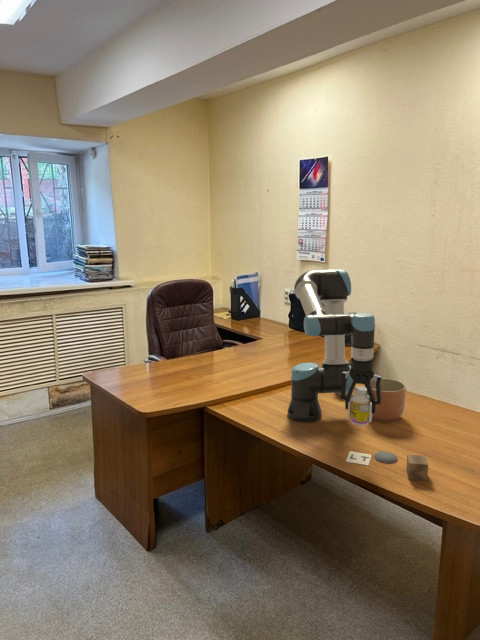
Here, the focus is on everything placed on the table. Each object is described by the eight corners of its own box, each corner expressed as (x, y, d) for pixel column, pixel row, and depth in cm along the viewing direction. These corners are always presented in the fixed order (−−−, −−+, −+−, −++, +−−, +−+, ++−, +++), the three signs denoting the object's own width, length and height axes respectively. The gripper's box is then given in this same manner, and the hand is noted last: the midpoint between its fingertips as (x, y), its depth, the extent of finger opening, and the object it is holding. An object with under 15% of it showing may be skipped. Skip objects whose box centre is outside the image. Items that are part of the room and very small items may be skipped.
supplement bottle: (347, 418, 170) (348, 385, 168) (365, 417, 171) (366, 384, 168) (353, 427, 164) (354, 392, 161) (372, 425, 164) (373, 391, 162)
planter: (362, 408, 214) (363, 377, 211) (401, 410, 211) (403, 378, 207) (364, 424, 198) (365, 390, 195) (406, 427, 194) (408, 392, 191)
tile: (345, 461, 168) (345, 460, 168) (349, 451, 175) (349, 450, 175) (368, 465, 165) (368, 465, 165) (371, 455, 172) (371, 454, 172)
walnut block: (408, 479, 156) (409, 463, 155) (406, 470, 162) (407, 454, 161) (427, 481, 155) (428, 464, 153) (424, 471, 160) (425, 455, 159)
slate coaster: (373, 460, 168) (373, 459, 168) (376, 450, 175) (376, 449, 175) (396, 465, 165) (396, 464, 165) (398, 454, 172) (398, 453, 172)
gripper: (331, 358, 163) (330, 419, 168) (390, 364, 155) (387, 428, 160) (336, 352, 169) (334, 411, 174) (392, 357, 161) (389, 419, 167)
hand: (359, 419), depth 167 cm, fingers closed on supplement bottle, 7 cm apart
